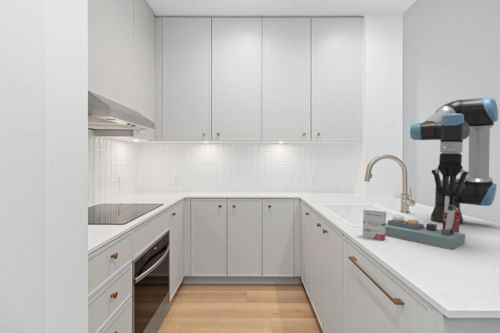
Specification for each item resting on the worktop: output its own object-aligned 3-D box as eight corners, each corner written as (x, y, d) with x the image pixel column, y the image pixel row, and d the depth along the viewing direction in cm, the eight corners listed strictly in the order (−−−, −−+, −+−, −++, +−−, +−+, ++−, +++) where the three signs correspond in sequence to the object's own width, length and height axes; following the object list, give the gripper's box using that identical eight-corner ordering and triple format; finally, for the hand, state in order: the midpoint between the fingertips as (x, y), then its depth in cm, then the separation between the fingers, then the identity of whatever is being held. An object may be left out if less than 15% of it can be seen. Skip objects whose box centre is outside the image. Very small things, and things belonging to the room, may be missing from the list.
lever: (447, 232, 133) (452, 204, 132) (451, 233, 132) (456, 205, 130) (443, 233, 130) (448, 205, 129) (447, 235, 129) (452, 206, 128)
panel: (393, 229, 155) (394, 216, 155) (464, 243, 133) (465, 228, 133) (378, 234, 146) (379, 220, 145) (452, 249, 124) (452, 233, 123)
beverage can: (443, 232, 152) (444, 206, 151) (459, 234, 148) (461, 208, 147) (441, 234, 147) (442, 208, 147) (457, 237, 143) (459, 210, 143)
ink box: (385, 238, 139) (386, 210, 138) (383, 240, 135) (385, 211, 134) (364, 235, 143) (365, 208, 143) (361, 237, 139) (363, 209, 138)
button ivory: (395, 220, 149) (395, 214, 149) (405, 221, 146) (405, 216, 146) (390, 221, 146) (391, 215, 146) (400, 223, 143) (400, 217, 143)
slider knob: (429, 228, 140) (429, 223, 140) (436, 230, 138) (436, 224, 138) (426, 229, 138) (426, 224, 138) (433, 231, 136) (434, 225, 136)
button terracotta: (410, 224, 144) (410, 219, 144) (420, 226, 141) (420, 220, 141) (405, 226, 142) (405, 220, 141) (416, 228, 138) (416, 222, 138)
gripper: (429, 152, 132) (426, 210, 133) (466, 153, 123) (462, 216, 123) (436, 153, 137) (433, 209, 138) (472, 153, 127) (469, 214, 128)
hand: (447, 212), depth 131 cm, fingers closed
